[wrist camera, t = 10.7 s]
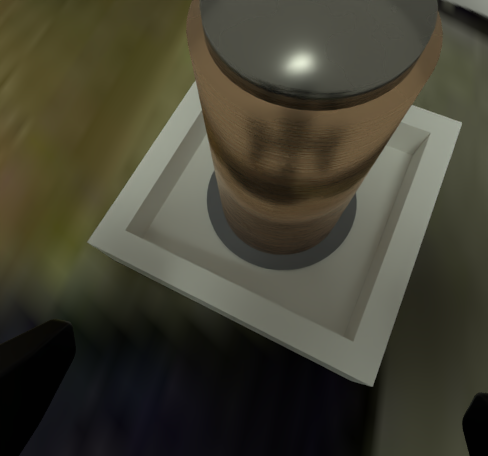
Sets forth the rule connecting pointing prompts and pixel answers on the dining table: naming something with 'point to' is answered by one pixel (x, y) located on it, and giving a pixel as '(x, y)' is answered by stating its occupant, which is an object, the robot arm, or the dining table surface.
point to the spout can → (304, 104)
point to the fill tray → (285, 266)
